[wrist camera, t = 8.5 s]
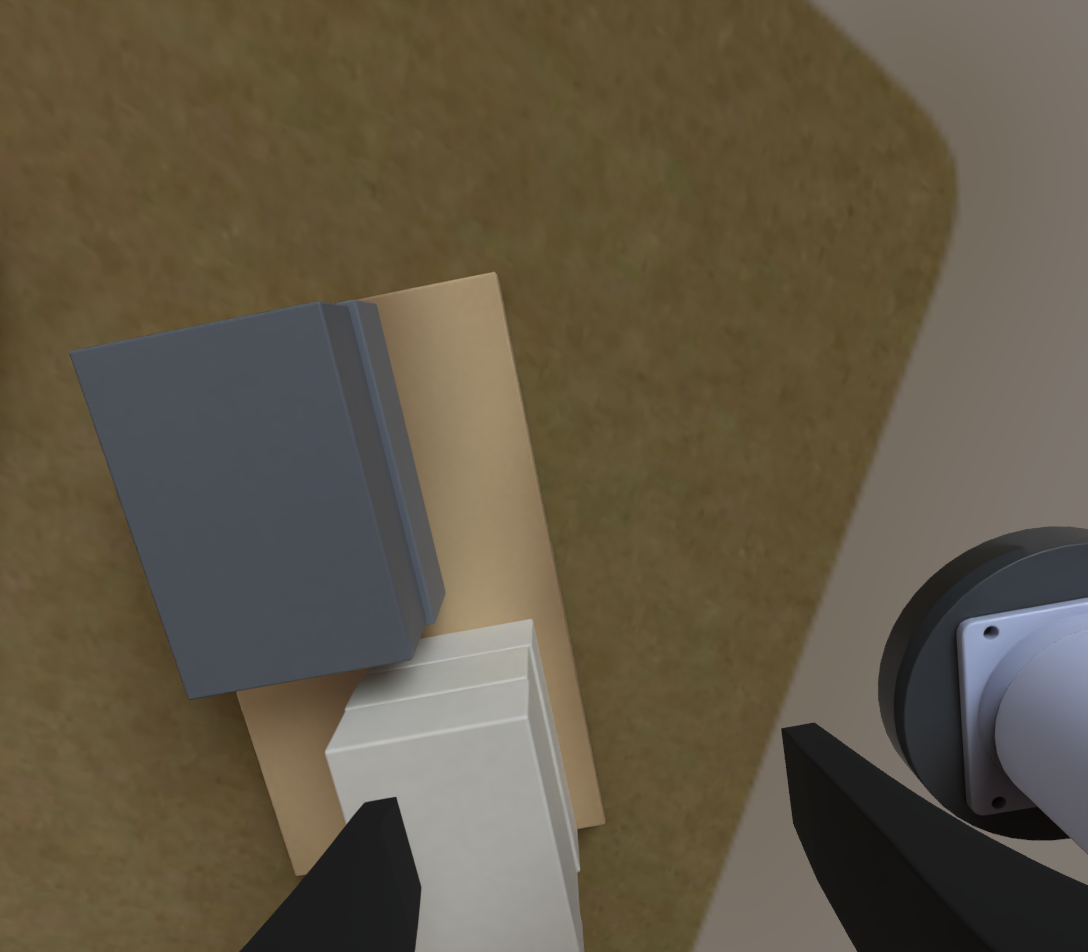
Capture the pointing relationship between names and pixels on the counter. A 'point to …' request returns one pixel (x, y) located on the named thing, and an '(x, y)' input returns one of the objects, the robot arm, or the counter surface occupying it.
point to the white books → (471, 666)
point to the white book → (468, 815)
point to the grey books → (269, 493)
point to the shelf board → (444, 549)
